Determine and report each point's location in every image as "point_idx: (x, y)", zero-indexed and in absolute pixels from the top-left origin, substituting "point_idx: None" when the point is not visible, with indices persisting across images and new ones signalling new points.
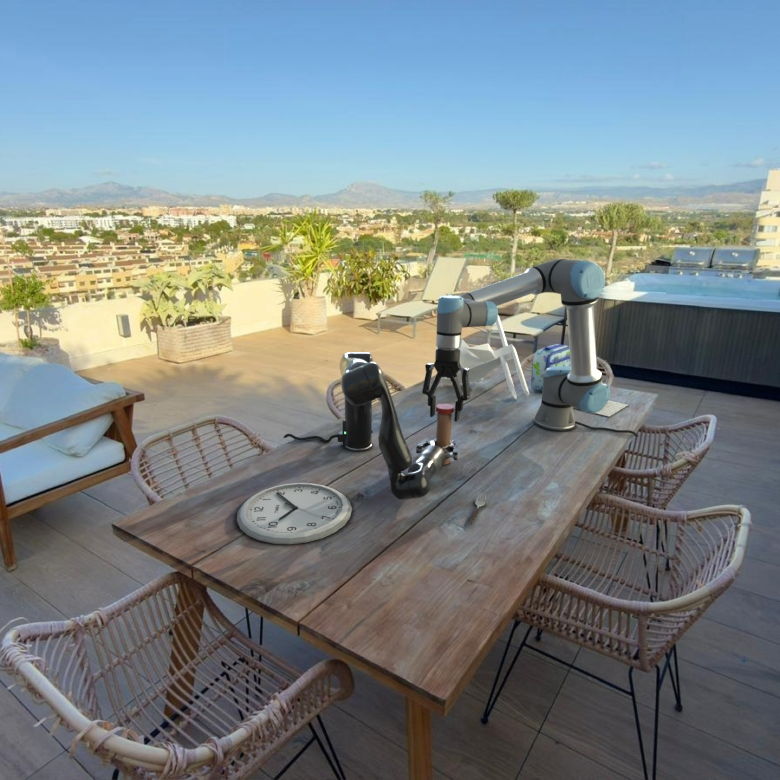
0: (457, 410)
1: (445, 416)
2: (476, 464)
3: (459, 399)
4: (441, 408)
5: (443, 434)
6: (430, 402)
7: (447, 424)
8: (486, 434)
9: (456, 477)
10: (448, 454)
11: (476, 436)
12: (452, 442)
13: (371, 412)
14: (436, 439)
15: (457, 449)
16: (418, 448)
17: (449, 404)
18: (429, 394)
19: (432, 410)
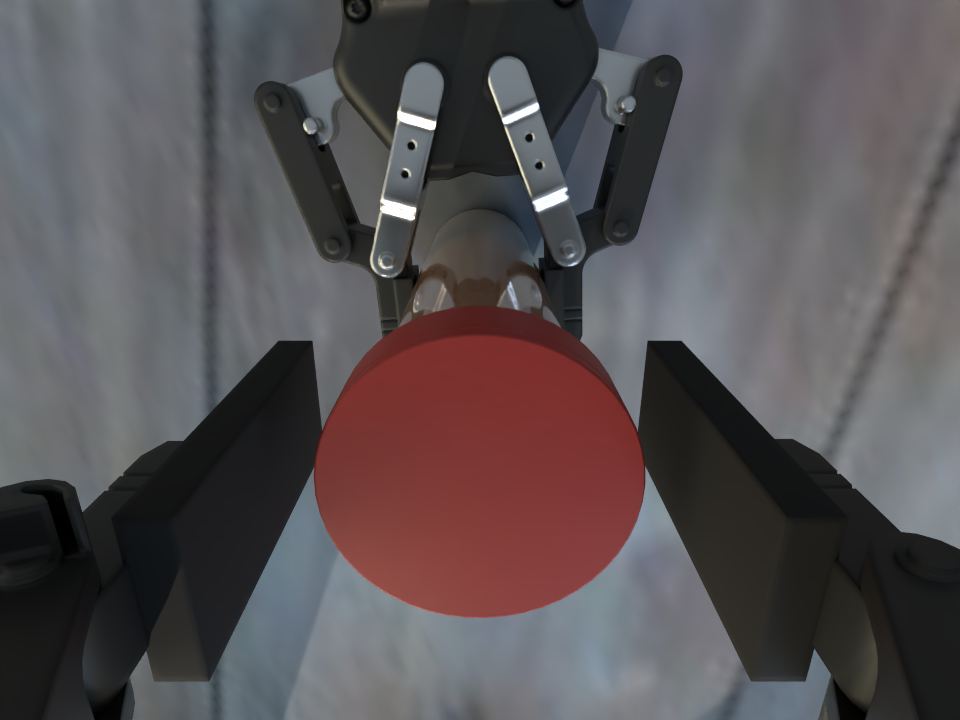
0: (211, 424)
1: None
2: (264, 326)
3: (17, 567)
4: (498, 352)
5: (455, 257)
6: (783, 451)
7: (411, 309)
8: (384, 717)
9: (293, 57)
10: (334, 57)
11: (423, 675)
12: (397, 314)
13: None
14: (534, 266)
15: (289, 176)
16: (648, 62)
17: (448, 601)
18: (938, 577)
19: (677, 388)
